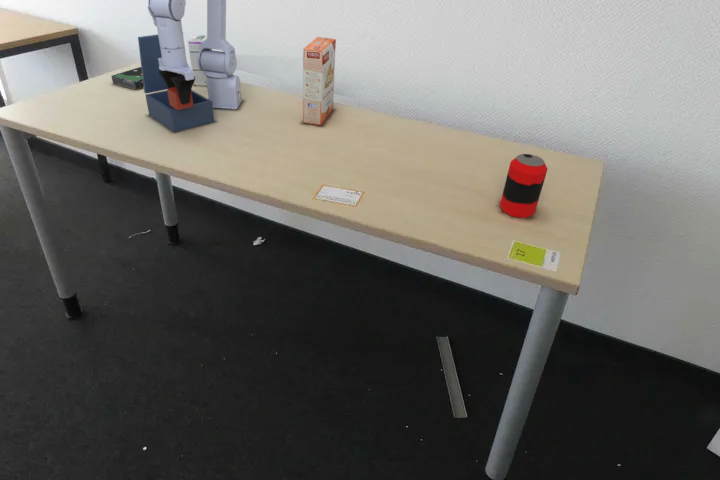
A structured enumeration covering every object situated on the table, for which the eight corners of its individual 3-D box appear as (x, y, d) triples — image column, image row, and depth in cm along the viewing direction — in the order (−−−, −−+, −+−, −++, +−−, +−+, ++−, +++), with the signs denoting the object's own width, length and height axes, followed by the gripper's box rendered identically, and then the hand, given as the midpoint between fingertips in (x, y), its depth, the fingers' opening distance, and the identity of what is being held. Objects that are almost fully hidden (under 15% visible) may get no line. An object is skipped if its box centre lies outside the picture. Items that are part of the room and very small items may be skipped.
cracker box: (322, 126, 144) (323, 50, 132) (302, 123, 145) (301, 47, 133) (334, 109, 155) (336, 38, 143) (315, 107, 156) (316, 35, 144)
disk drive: (147, 73, 174) (112, 84, 163) (145, 64, 173) (110, 75, 161) (170, 78, 171) (136, 90, 159) (169, 70, 169) (134, 81, 158)
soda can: (528, 201, 115) (542, 152, 109) (539, 219, 109) (554, 169, 102) (495, 200, 115) (507, 151, 108) (504, 218, 109) (517, 167, 102)
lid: (183, 32, 137) (181, 31, 137) (139, 38, 130) (137, 36, 130) (186, 85, 147) (184, 84, 147) (145, 93, 140) (144, 92, 140)
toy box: (214, 121, 143) (212, 101, 139) (173, 132, 135) (170, 110, 132) (188, 106, 151) (185, 86, 147) (149, 115, 144) (145, 94, 140)
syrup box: (211, 86, 166) (206, 40, 158) (193, 85, 166) (187, 39, 158) (215, 80, 171) (211, 35, 163) (198, 79, 171) (192, 34, 163)
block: (193, 106, 133) (191, 89, 130) (177, 110, 130) (175, 93, 128) (185, 101, 135) (182, 85, 133) (169, 105, 133) (166, 88, 130)
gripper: (143, 41, 126) (153, 95, 134) (171, 55, 118) (180, 112, 125) (170, 37, 130) (178, 90, 138) (198, 51, 122) (205, 106, 130)
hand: (180, 100), depth 132 cm, fingers closed on block, 4 cm apart
